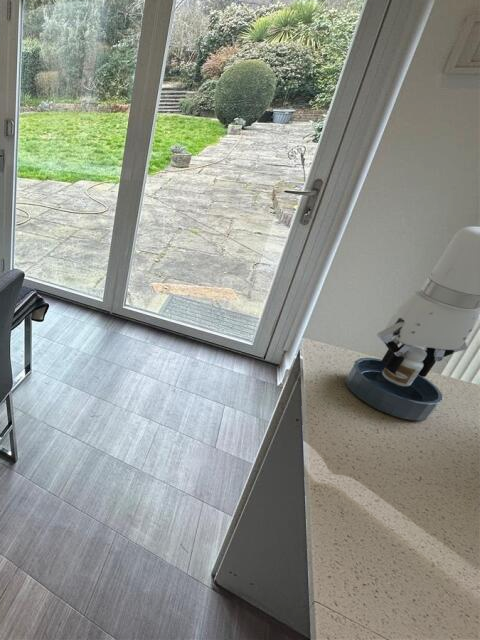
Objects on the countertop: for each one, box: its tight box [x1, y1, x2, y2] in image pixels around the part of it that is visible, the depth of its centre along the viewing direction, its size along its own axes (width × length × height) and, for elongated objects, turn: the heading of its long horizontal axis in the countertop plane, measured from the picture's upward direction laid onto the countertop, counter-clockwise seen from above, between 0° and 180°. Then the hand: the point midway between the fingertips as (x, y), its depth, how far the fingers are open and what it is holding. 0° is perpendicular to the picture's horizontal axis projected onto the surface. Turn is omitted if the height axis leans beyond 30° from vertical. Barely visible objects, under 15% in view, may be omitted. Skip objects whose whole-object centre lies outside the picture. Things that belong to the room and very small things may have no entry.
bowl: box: [345, 357, 443, 421], centre depth 85 cm, size 13×13×5 cm
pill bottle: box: [382, 346, 427, 386], centre depth 82 cm, size 4×4×8 cm
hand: (402, 369), depth 83 cm, fingers closed on pill bottle, 4 cm apart
